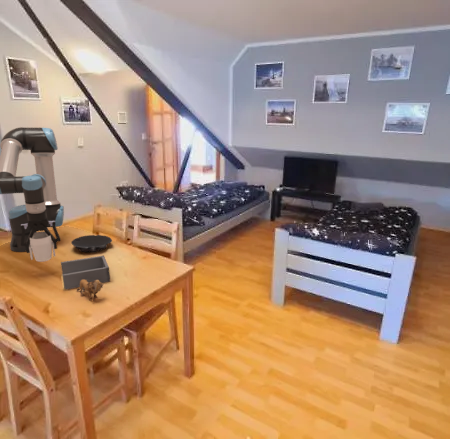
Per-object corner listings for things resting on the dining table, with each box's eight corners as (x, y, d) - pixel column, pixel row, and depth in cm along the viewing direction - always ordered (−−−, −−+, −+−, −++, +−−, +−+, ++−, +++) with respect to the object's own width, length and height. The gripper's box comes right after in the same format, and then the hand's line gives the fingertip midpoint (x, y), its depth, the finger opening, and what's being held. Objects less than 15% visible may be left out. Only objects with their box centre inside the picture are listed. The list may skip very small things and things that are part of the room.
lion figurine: (106, 297, 142) (105, 278, 139) (97, 303, 138) (95, 284, 135) (81, 288, 148) (79, 270, 145) (71, 294, 144) (69, 275, 141)
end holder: (61, 275, 158) (59, 262, 156) (105, 268, 167) (103, 255, 165) (62, 290, 146) (61, 275, 144) (110, 281, 155) (109, 267, 153)
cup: (45, 264, 152) (41, 240, 147) (28, 261, 153) (23, 237, 149) (58, 255, 160) (55, 232, 156) (41, 253, 162) (38, 230, 157)
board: (63, 248, 187) (62, 240, 186) (97, 239, 205) (96, 231, 203) (86, 259, 176) (86, 250, 174) (120, 248, 193) (120, 240, 192)
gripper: (7, 216, 141) (16, 264, 148) (63, 211, 150) (69, 256, 158) (8, 210, 147) (17, 257, 155) (62, 206, 156) (67, 250, 164)
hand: (43, 256), depth 156 cm, fingers closed on cup, 9 cm apart
